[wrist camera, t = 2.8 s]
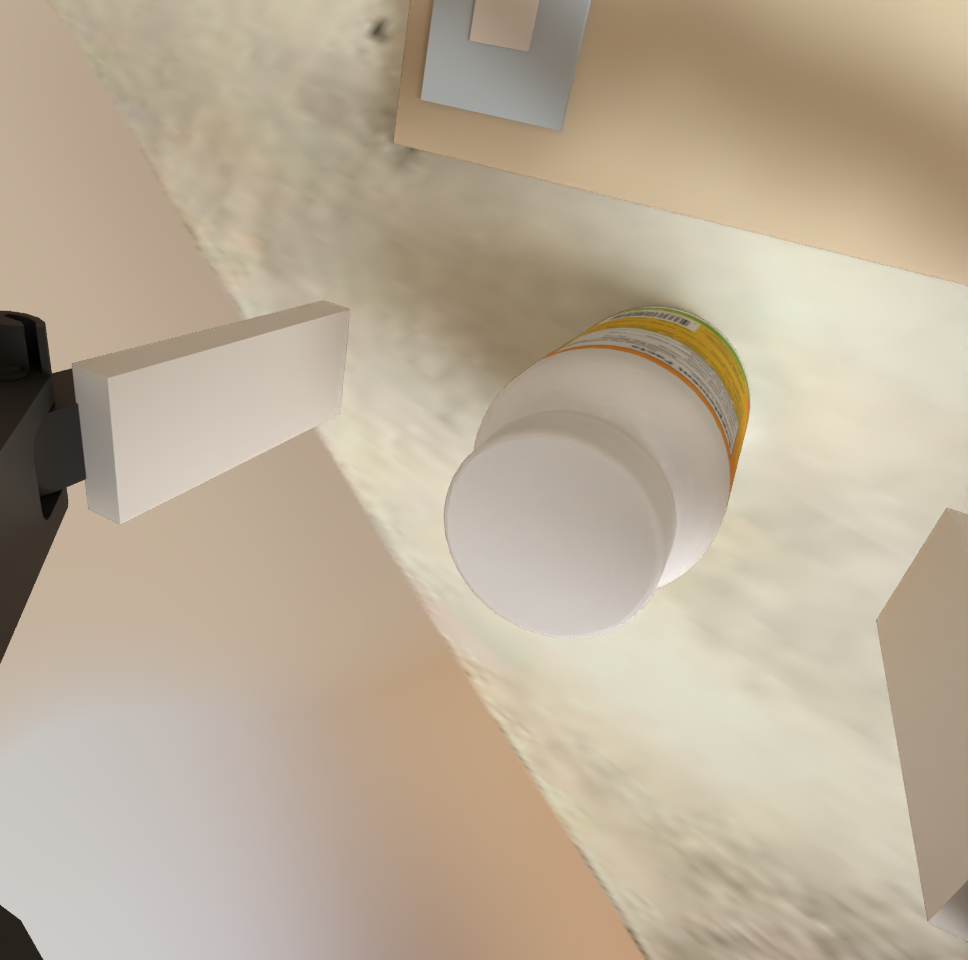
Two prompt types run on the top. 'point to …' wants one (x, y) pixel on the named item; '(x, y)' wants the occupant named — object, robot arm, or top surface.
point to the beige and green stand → (715, 111)
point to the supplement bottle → (600, 473)
